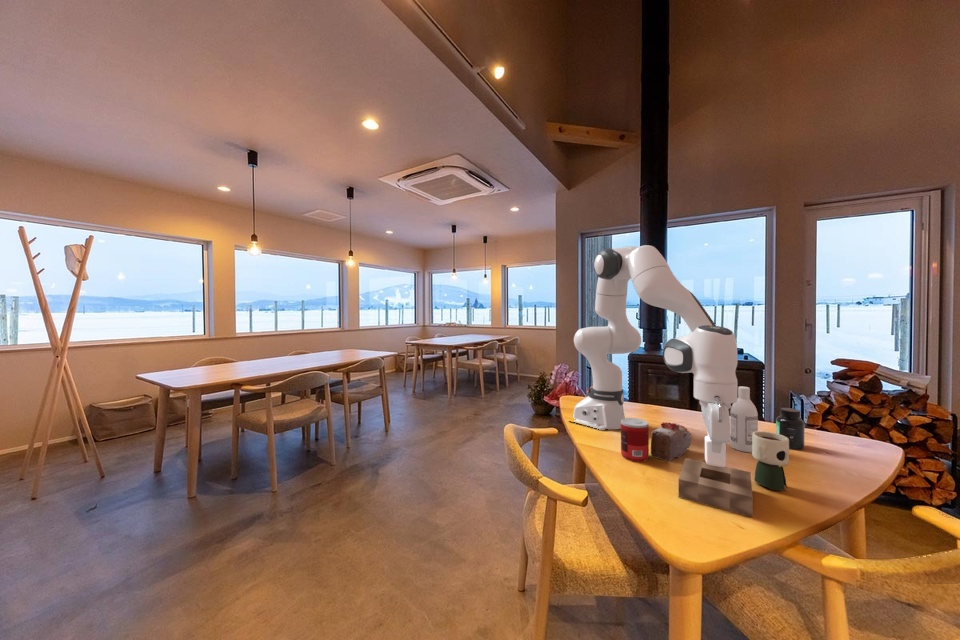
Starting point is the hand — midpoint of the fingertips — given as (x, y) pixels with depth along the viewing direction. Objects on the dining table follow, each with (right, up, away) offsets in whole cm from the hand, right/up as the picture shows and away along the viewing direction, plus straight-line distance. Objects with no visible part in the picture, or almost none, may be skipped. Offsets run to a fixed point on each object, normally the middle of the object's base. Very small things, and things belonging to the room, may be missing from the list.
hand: (714, 447), depth 83 cm
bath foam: (+27, -10, +26) cm, 39 cm away
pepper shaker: (0, -4, 0) cm, 4 cm away
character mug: (+16, -11, +3) cm, 20 cm away
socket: (0, -11, 0) cm, 11 cm away
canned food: (-10, -11, +22) cm, 26 cm away
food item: (+2, -11, +24) cm, 26 cm away
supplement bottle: (+44, -10, +27) cm, 53 cm away
